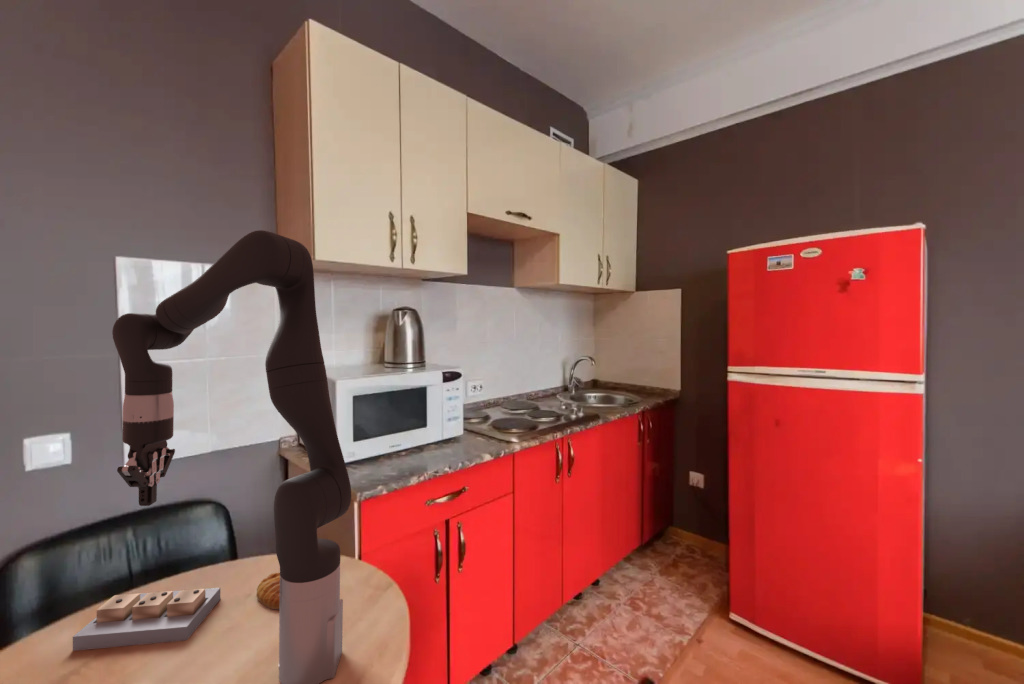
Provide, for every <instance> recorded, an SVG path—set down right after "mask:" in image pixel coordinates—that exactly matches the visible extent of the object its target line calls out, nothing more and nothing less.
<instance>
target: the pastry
mask: <svg viewBox="0 0 1024 684" xmlns="http://www.w3.org/2000/svg"><path fill="white" fill-rule="evenodd" d="M255 597H256V598H257V601H258V602H260V603H261V604H262V605H263V606H265V607H267V608H268V607H269V609H270V608H271V610H279V605H280V572H273V573H271V574H269V575H268V576H267V577H265V578H263V579H262V580H261V581H260V582H259V584H258V586H257V588H256V596H255Z"/></svg>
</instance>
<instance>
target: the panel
mask: <svg viewBox="0 0 1024 684" xmlns="http://www.w3.org/2000/svg"><path fill="white" fill-rule="evenodd" d="M204 589H205V602H204V603H203V604H202V605H201V606H200V607H199V609H198V610H197V611H196V612H195V613H194V614H193V615H185V616H173V617H167V610H166V611H165V612H164V613H163V614H162V615H161V616H160V617H159V618H149V619H137V620H132V614H131V615H130V616H129V617H127V618H126V619H125V620H124V621H114V622H102V623H97V616H96V617H95V618H94V619H92V620H91V621H90V622H89V623H88V624H86V625H85V626H84V627H83V628H81V629H80V630H79V631H78V632H76V634H74V635H73V636H72V651H85V650H96V649H104V648H105V649H106V648H115V647H116V648H117V647H128V646H140V645H148V644H149V645H150V644H159V643H160V644H161V643H168V642H169V643H170V642H182V641H188V640H189V638H190V637H191V635H192V634H194V632H195V631H196V630H197V628H198V627H199V626H200V625H201V624H202V622H203V621H204V620H205V618H206V617H207V616H208V615H209V614H210V612H212V610H213V609H214V608H215V607H216V605H217V604H218V603H219V601H220V600H221V587H212V588H209V587H208V588H204ZM172 591H173V598H174V597H175V596H176V595H177V594H178V593H179V592H180V591H181V590H172ZM147 593H148V592H144V593H140V600H141V599H142V598H143V597H144V596H145V595H146V594H147Z"/></svg>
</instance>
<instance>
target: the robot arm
mask: <svg viewBox="0 0 1024 684" xmlns="http://www.w3.org/2000/svg"><path fill="white" fill-rule="evenodd" d="M314 274H315V273H314V264H313V260H312V256H311V253H310V251H309V250H308V248H307V247H306V246H305V245H304V244H303V243H301V242H299V241H297V240H296V239H292V238H289V237H286V236H284V235H280V234H278V233H274V232H271V231H267V230H263V229H261V230H253V231H251V232H249V233H247V234H246V235H244V236H243V237H242V238H240V239H239V240H238V241H236V242H235V243H234V244H233V245H232V246H230V248H229V249H228V250H227V251H226V252H225V253H223V254H222V255H221V256H220V257H219V258H218V259H217V260H216V261H215V262H214V263H213V264H211V266H209V268H207V270H206V271H205V272H204V273H202V274H201V275H199V277H198V278H196V279H195V280H194V281H192V282H190V283H189V284H188V285H187V286H185V287H183V288H181V289H180V290H178V291H176V292H175V293H173V294H171V295H169V296H168V297H167V298H165V299H164V300H162V301H161V302H159V304H158V305H157V307H156V309H155V313H143V312H142V313H140V312H129V313H124V314H122V315H120V316H119V317H118V318H117V319H116V321H115V322H114V323H113V327H112V331H111V332H112V339H113V343H114V345H115V348H116V351H117V353H118V356H119V359H120V362H121V366H122V368H123V371H124V398H123V403H122V439H121V441H122V442H123V443H124V444H125V445H128V446H129V450H128V453H127V459H128V461H126V463H125V464H124V465H118V467H117V470H116V471H117V473H118V474H119V475H120V477H121V478H122V479H123V481H124V482H125V483H126V484H127V485H128V487H129V488H138V505H139V506H140V507H145V506H147V507H149V506H151V505H152V506H153V504H155V503H157V495H158V494H157V493H158V484H159V483H160V480H161V478H164V477H166V474H167V472H168V469H169V467H170V466H171V463H172V460H173V458H174V455H175V454H176V448H169V447H168V441H170V440H171V439H172V438H173V437H174V417H175V416H174V411H175V410H174V409H175V407H174V406H175V404H174V403H175V402H174V396H173V367H172V366H171V364H169V363H166V362H162V361H156V360H153V359H152V358H151V356H150V354H149V353H150V352H149V351H151V350H152V351H153V350H154V351H156V350H158V351H159V350H160V351H161V350H162V351H163V350H169V349H174V348H176V347H178V346H179V345H182V344H183V343H184V341H186V340H187V339H188V337H189V336H190V335H192V333H193V331H194V330H195V329H197V328H199V327H200V326H203V325H204V324H206V323H208V322H210V321H211V320H214V319H215V318H216V317H217V316H219V314H221V313H222V312H223V310H224V308H225V307H226V305H227V302H228V298H229V296H230V294H232V293H233V292H235V291H236V290H238V289H241V288H243V287H246V286H248V285H252V284H259V285H263V286H268V287H271V288H272V287H273V288H274V289H275V291H276V295H277V299H278V300H277V301H278V307H279V320H278V325H277V328H276V331H275V333H274V335H273V338H272V339H271V341H270V345H269V347H268V350H267V353H266V357H265V363H264V365H265V373H266V380H267V386H268V393H269V397H270V400H271V403H272V404H273V406H274V408H275V410H277V412H278V413H279V414H280V415H281V417H282V418H283V419H284V420H285V422H287V424H288V425H289V426H290V427H291V428H292V429H293V430H294V431H295V433H296V434H297V435H298V436H299V438H300V440H301V442H302V443H303V445H304V448H305V450H306V454H307V458H308V464H309V470H310V471H308V472H305V473H302V474H299V475H295V476H293V477H290V478H288V479H285V480H284V481H282V482H281V483H280V484H279V486H278V487H277V490H276V492H275V495H274V501H273V521H274V522H273V523H274V535H275V536H274V539H275V540H274V541H275V544H274V545H275V553H276V559H277V560H278V565H279V573H280V605H279V609H278V610H279V618H278V619H279V621H278V623H279V627H278V631H279V632H278V679H279V682H280V684H320V683H322V682H324V681H326V680H329V679H334V678H335V677H336V673H337V669H338V666H339V663H340V661H341V656H342V653H343V621H344V620H343V619H344V617H343V614H344V613H343V612H344V610H343V609H344V605H343V604H344V602H343V601H344V600H343V599H341V547H340V545H339V544H338V543H337V542H336V541H334V540H332V539H328V538H327V539H326V538H319V537H318V529H319V528H321V527H323V526H326V525H327V524H329V523H330V522H334V521H335V520H337V519H339V518H340V517H343V516H344V515H345V514H346V513H347V512H348V510H349V509H350V506H351V502H352V485H351V481H350V477H349V472H348V469H347V466H346V462H345V459H344V455H343V451H342V447H341V444H340V440H339V437H338V433H337V428H336V422H335V419H334V414H333V413H334V412H333V410H332V408H333V406H332V403H331V398H330V392H329V391H330V390H329V382H328V375H327V369H326V365H325V359H324V356H323V355H324V353H323V351H322V345H321V338H320V331H319V323H318V316H317V307H316V291H315V275H314Z"/></svg>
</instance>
